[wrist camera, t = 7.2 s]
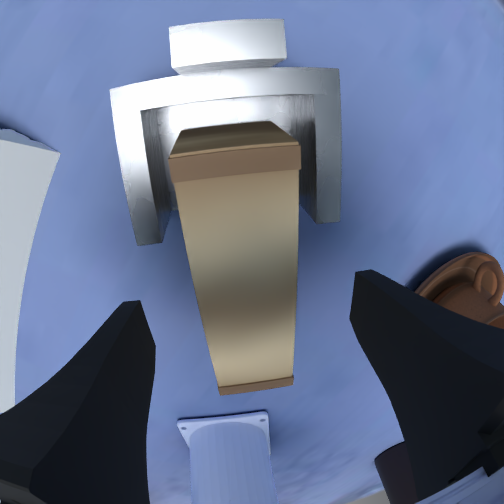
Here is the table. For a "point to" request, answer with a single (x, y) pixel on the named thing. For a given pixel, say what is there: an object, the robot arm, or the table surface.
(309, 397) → the table surface
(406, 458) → the bottle
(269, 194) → the tan rectangular block
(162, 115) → the bracket
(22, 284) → the crown molding
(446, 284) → the cup and saucer
